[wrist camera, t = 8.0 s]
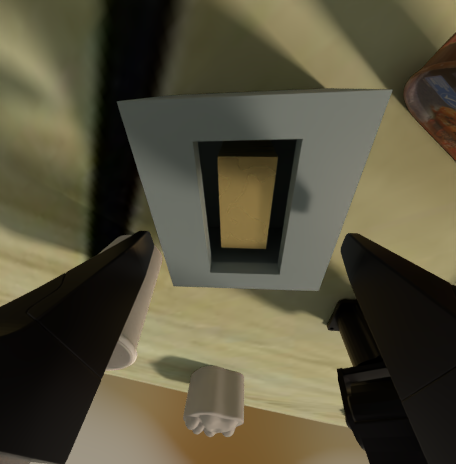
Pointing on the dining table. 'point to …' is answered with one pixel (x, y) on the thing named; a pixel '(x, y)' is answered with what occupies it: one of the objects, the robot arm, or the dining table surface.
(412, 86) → the tin
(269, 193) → the tan rectangular block
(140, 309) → the dixie cup
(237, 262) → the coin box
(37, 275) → the dining table surface
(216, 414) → the lumpy-topped squat cylinder
